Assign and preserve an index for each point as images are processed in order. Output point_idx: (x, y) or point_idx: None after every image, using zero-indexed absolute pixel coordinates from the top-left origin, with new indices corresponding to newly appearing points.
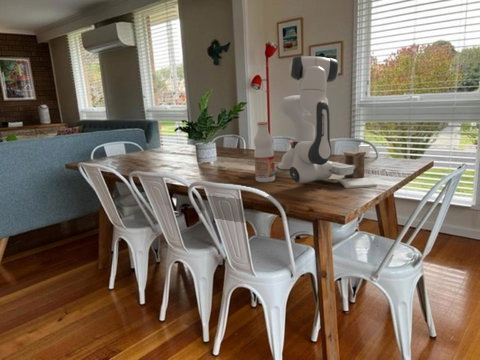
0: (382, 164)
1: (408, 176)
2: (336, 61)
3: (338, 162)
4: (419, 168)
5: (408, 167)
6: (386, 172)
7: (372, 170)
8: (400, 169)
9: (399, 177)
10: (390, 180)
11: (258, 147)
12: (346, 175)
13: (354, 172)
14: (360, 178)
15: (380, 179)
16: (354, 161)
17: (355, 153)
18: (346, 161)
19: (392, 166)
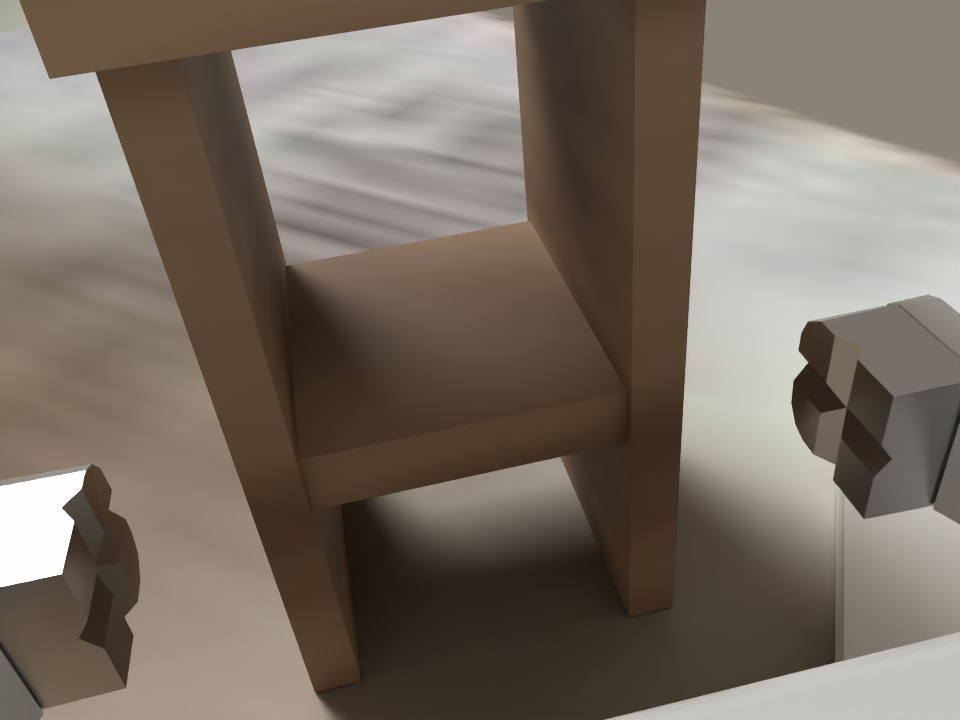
0: (94, 100)
1: (754, 99)
2: None
3: (74, 544)
4: (470, 13)
5: (380, 36)
6: (451, 157)
7: None
8: (408, 74)
9: (777, 147)
10: (940, 236)
11: None
12: (351, 635)
13: (678, 478)
14: (875, 522)
15: (838, 294)
16: (688, 178)
17: None
18: (255, 303)
19: (244, 79)
